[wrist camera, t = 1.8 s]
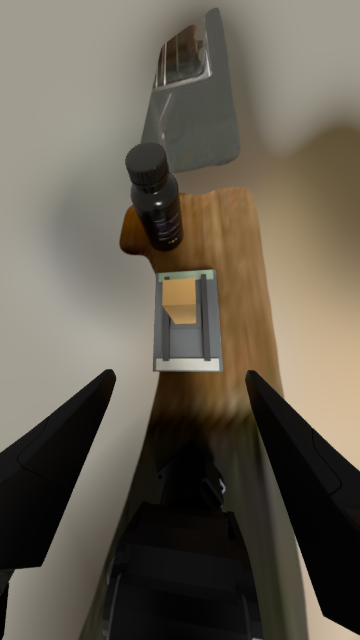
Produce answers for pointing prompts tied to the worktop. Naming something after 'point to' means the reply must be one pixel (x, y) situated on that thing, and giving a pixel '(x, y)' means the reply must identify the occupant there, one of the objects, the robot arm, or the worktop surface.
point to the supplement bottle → (155, 195)
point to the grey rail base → (189, 344)
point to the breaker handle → (181, 303)
